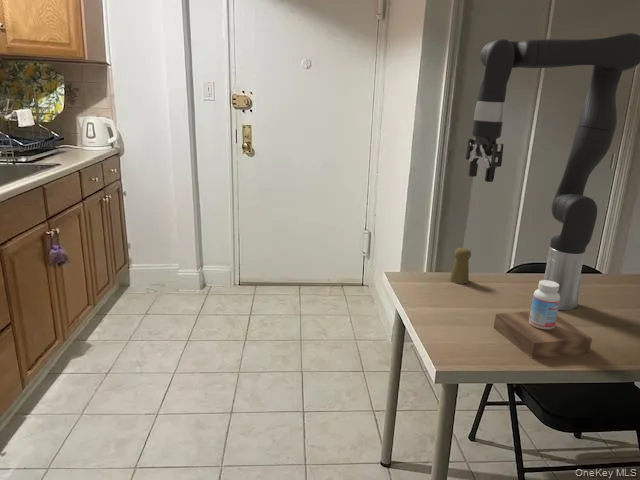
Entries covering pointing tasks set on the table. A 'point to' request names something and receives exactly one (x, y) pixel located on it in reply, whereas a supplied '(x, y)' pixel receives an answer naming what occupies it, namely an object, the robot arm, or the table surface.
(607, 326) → the table surface
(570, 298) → the robot arm
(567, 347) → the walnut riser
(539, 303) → the pill bottle
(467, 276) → the cork
